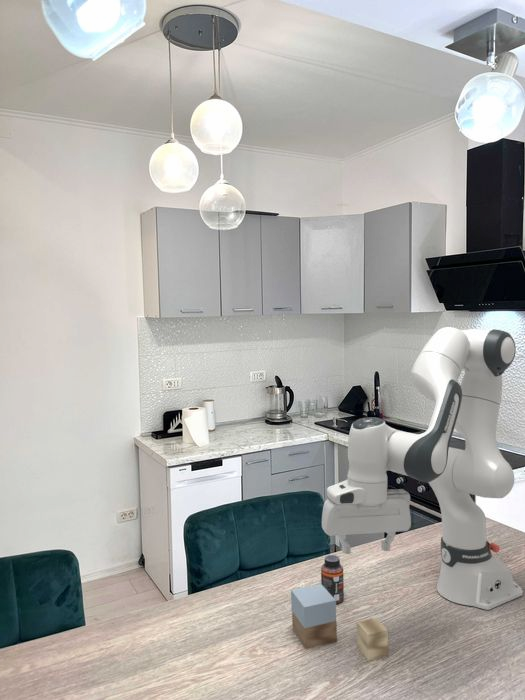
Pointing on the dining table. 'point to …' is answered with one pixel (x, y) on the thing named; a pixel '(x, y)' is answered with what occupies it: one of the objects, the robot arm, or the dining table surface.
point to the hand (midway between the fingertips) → (366, 551)
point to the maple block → (372, 639)
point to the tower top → (313, 605)
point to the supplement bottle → (333, 577)
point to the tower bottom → (314, 633)
